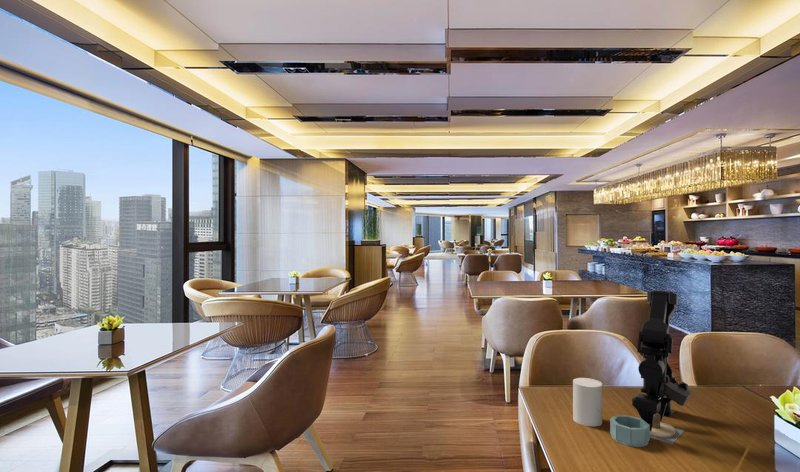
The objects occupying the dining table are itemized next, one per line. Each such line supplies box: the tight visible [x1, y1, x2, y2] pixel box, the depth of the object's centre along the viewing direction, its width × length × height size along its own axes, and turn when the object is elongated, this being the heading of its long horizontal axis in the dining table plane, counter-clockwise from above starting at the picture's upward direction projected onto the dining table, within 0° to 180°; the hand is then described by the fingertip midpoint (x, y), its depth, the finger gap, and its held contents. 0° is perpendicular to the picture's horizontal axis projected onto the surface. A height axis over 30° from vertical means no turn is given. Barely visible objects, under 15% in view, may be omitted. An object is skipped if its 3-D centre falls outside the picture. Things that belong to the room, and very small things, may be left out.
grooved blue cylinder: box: [609, 414, 651, 448], centre depth 119 cm, size 9×9×5 cm
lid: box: [650, 413, 675, 438], centre depth 124 cm, size 10×10×4 cm
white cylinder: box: [572, 377, 603, 427], centre depth 130 cm, size 8×8×12 cm
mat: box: [638, 417, 686, 445], centre depth 124 cm, size 12×12×1 cm
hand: (654, 425), depth 124 cm, fingers open, 9 cm apart
